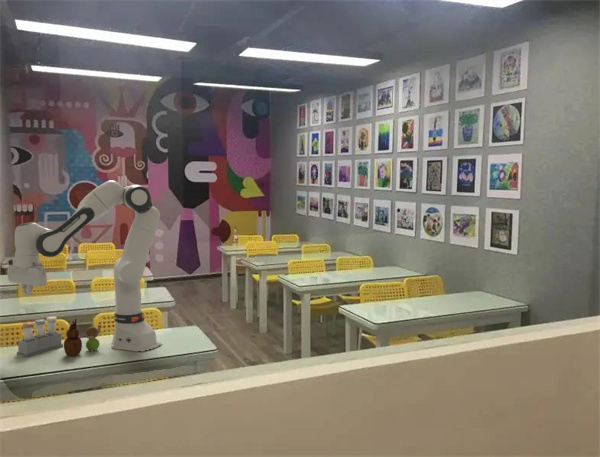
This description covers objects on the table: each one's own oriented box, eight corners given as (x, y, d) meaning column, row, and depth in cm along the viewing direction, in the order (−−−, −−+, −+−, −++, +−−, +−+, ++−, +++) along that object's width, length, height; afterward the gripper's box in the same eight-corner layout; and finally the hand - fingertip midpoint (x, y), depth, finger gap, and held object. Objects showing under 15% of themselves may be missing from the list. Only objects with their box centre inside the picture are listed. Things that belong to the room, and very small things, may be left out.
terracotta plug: (36, 341, 216) (35, 322, 215) (27, 344, 212) (26, 325, 212) (29, 340, 218) (29, 321, 217) (20, 342, 214) (20, 323, 214)
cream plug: (58, 335, 226) (58, 317, 225) (50, 337, 222) (50, 319, 222) (52, 333, 228) (52, 316, 227) (44, 336, 224) (44, 318, 223)
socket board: (63, 346, 226) (62, 333, 226) (27, 357, 211) (27, 342, 211) (52, 344, 229) (52, 330, 229) (16, 354, 215) (16, 340, 214)
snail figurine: (103, 350, 222) (103, 322, 222) (89, 353, 218) (88, 325, 217) (98, 347, 226) (98, 320, 225) (83, 350, 222) (83, 323, 221)
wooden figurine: (77, 351, 219) (76, 317, 218) (84, 354, 216) (83, 319, 215) (61, 355, 214) (61, 320, 213) (68, 358, 211) (67, 322, 209)
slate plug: (47, 338, 221) (47, 320, 220) (39, 340, 217) (38, 322, 217) (41, 337, 223) (41, 318, 222) (33, 339, 219) (32, 320, 219)
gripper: (50, 262, 211) (51, 296, 212) (18, 258, 220) (19, 290, 221) (36, 264, 205) (37, 298, 206) (4, 260, 214) (5, 293, 215)
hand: (27, 294), depth 214 cm, fingers closed
